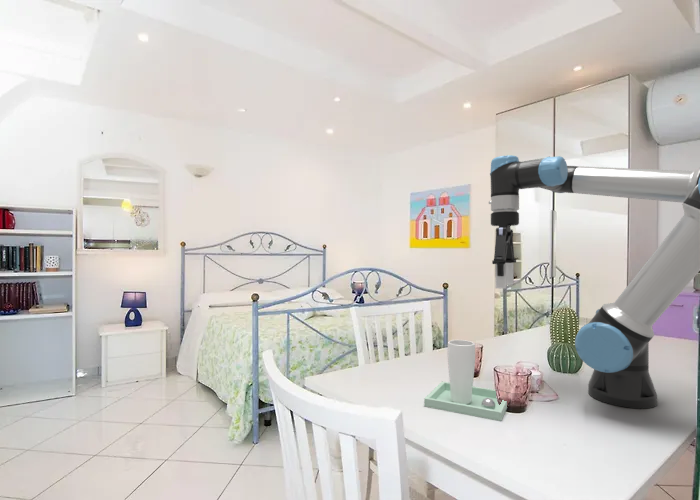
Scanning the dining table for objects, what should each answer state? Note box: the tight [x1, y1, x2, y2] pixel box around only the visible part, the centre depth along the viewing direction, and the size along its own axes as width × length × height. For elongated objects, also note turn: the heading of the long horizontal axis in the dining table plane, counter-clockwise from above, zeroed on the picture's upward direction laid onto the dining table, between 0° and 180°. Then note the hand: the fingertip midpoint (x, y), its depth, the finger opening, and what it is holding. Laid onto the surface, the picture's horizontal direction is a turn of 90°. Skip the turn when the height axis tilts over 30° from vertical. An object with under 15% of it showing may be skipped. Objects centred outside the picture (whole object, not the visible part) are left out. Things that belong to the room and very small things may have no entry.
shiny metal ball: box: [481, 398, 495, 410], centre depth 97 cm, size 3×3×3 cm
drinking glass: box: [447, 339, 476, 404], centre depth 104 cm, size 7×7×15 cm
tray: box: [423, 380, 508, 422], centre depth 103 cm, size 18×15×2 cm
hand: (505, 286), depth 116 cm, fingers open, 13 cm apart
